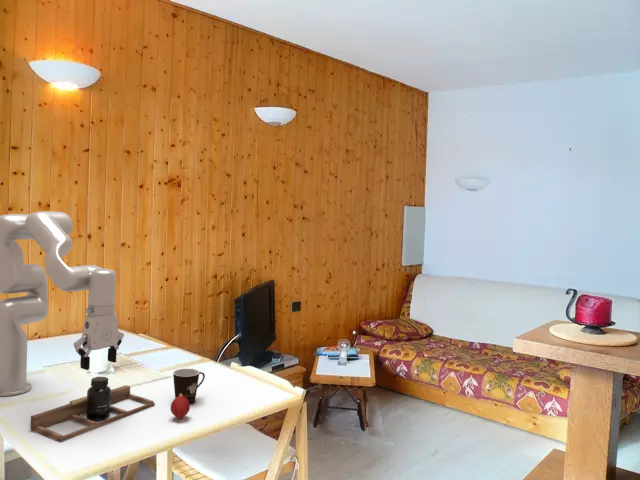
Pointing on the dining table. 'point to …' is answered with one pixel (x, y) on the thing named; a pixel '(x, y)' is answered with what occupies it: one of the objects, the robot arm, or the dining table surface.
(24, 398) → the dining table surface
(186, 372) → the coffee mug
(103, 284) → the robot arm
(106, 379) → the supplement bottle
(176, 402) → the onion
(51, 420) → the divided wooden rack
